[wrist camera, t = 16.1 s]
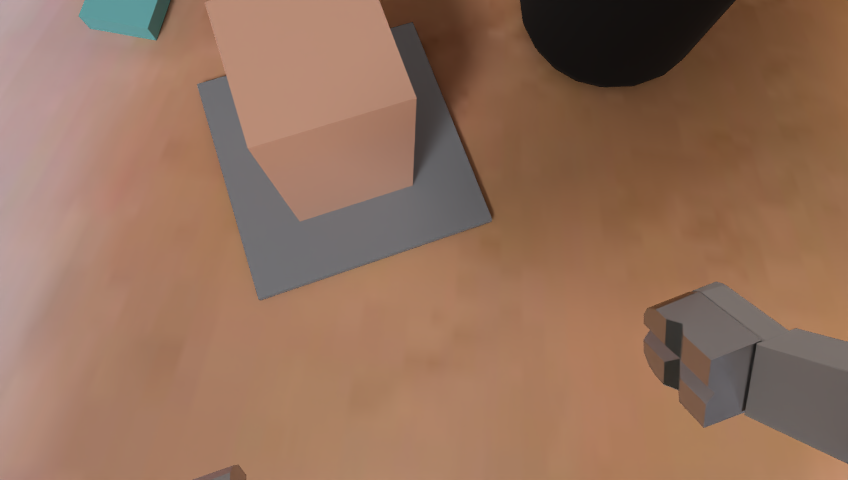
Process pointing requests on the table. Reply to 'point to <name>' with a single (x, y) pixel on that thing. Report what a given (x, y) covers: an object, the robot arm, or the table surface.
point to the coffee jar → (618, 36)
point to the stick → (126, 16)
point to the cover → (319, 98)
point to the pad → (359, 223)
